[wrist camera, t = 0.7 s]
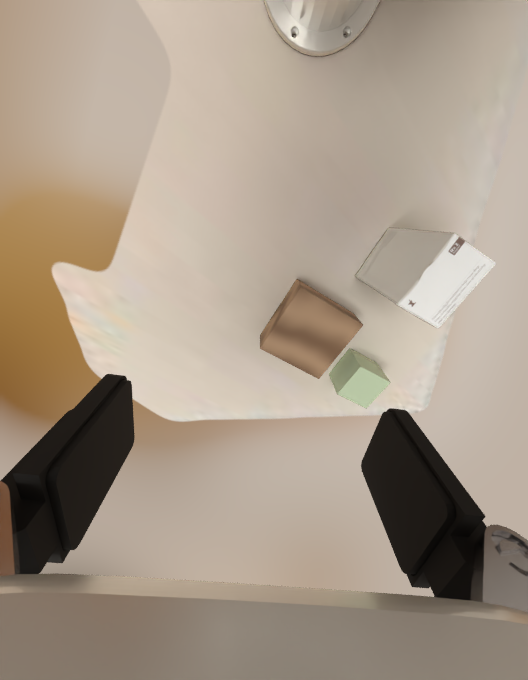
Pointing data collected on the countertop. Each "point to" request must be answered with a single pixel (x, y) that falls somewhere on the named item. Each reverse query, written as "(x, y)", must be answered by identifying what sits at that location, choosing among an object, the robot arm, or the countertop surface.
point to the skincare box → (424, 271)
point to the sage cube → (358, 378)
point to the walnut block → (308, 330)
